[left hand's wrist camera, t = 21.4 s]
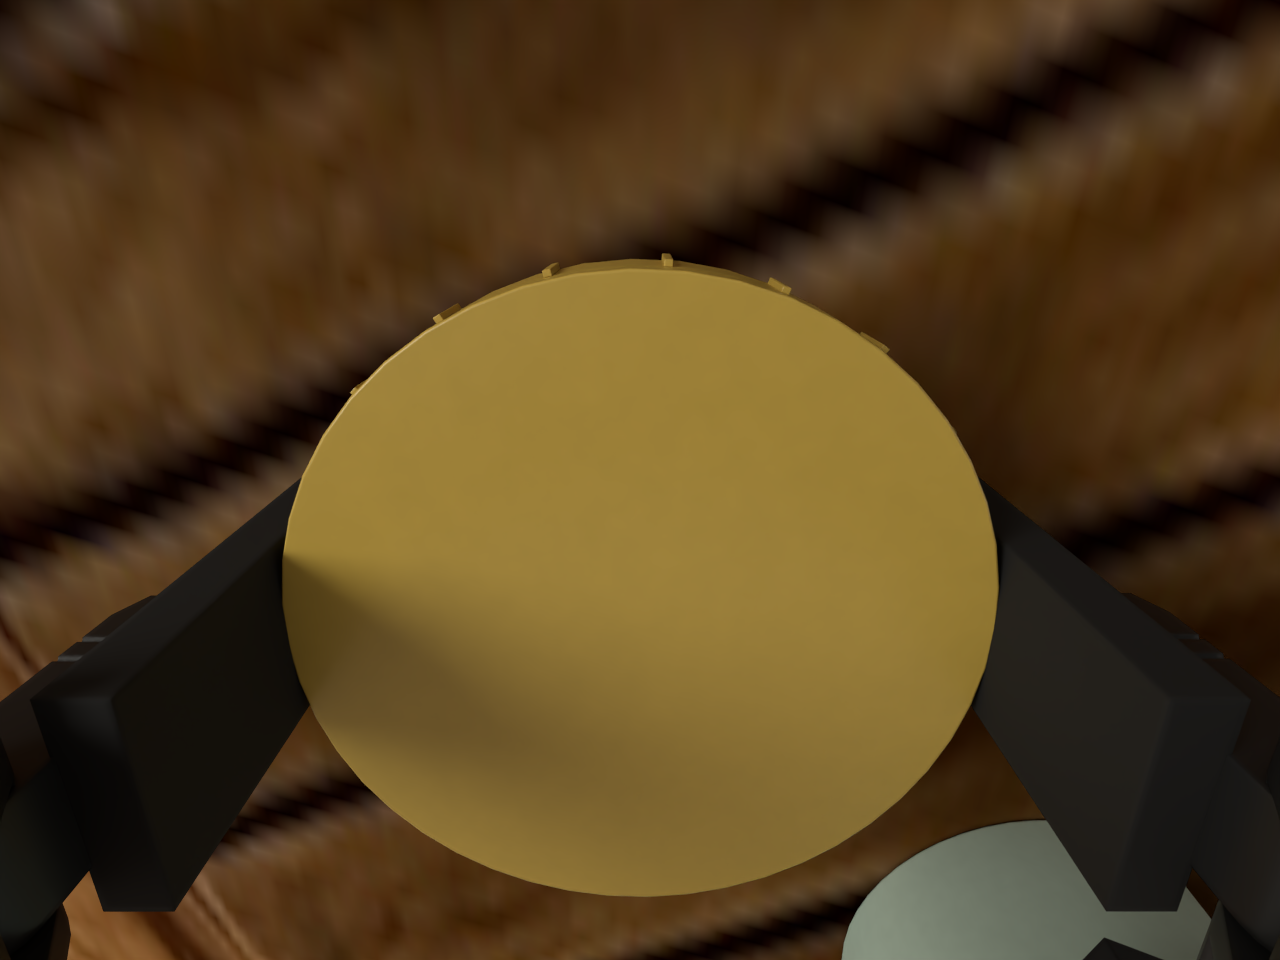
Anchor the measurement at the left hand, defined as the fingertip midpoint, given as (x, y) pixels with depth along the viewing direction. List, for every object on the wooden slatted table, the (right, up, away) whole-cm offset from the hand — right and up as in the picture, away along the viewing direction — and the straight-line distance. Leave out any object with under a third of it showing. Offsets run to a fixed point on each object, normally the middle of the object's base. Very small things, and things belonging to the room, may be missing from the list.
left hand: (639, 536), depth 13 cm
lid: (0, -1, -3) cm, 3 cm away
